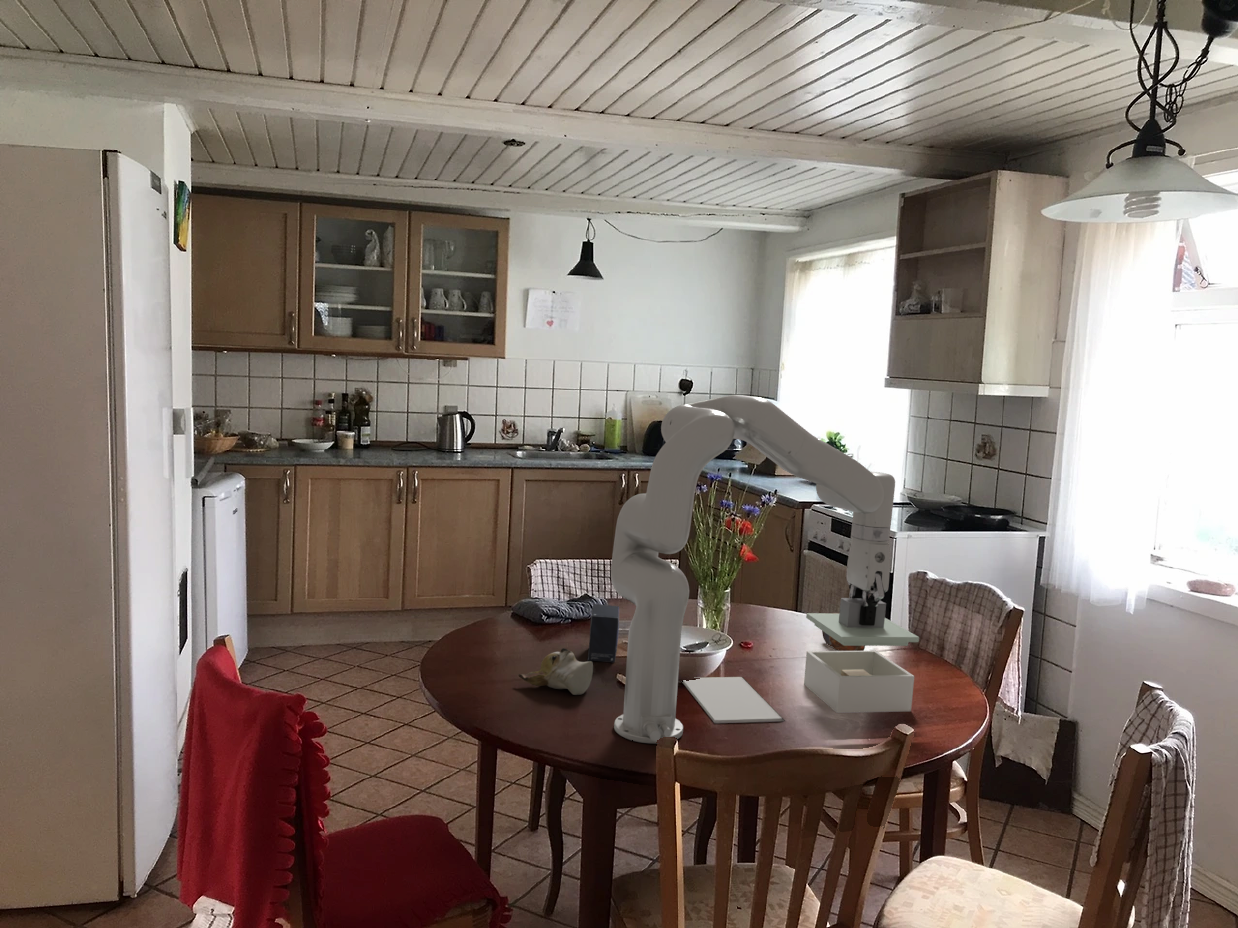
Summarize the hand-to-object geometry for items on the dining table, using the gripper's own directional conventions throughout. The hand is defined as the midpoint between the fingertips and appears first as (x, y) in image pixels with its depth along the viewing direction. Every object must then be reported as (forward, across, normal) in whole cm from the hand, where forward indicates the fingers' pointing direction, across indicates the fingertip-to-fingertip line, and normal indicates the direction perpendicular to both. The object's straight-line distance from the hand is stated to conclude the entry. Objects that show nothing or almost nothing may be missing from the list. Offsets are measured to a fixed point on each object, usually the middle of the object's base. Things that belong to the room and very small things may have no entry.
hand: (861, 620), depth 190 cm
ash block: (+16, 0, -1) cm, 16 cm away
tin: (+17, +33, -14) cm, 40 cm away
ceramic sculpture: (+18, +11, +59) cm, 63 cm away
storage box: (+17, 0, -1) cm, 17 cm away
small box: (+18, +31, +46) cm, 59 cm away
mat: (+17, +2, +21) cm, 28 cm away
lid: (+3, 0, 0) cm, 3 cm away
